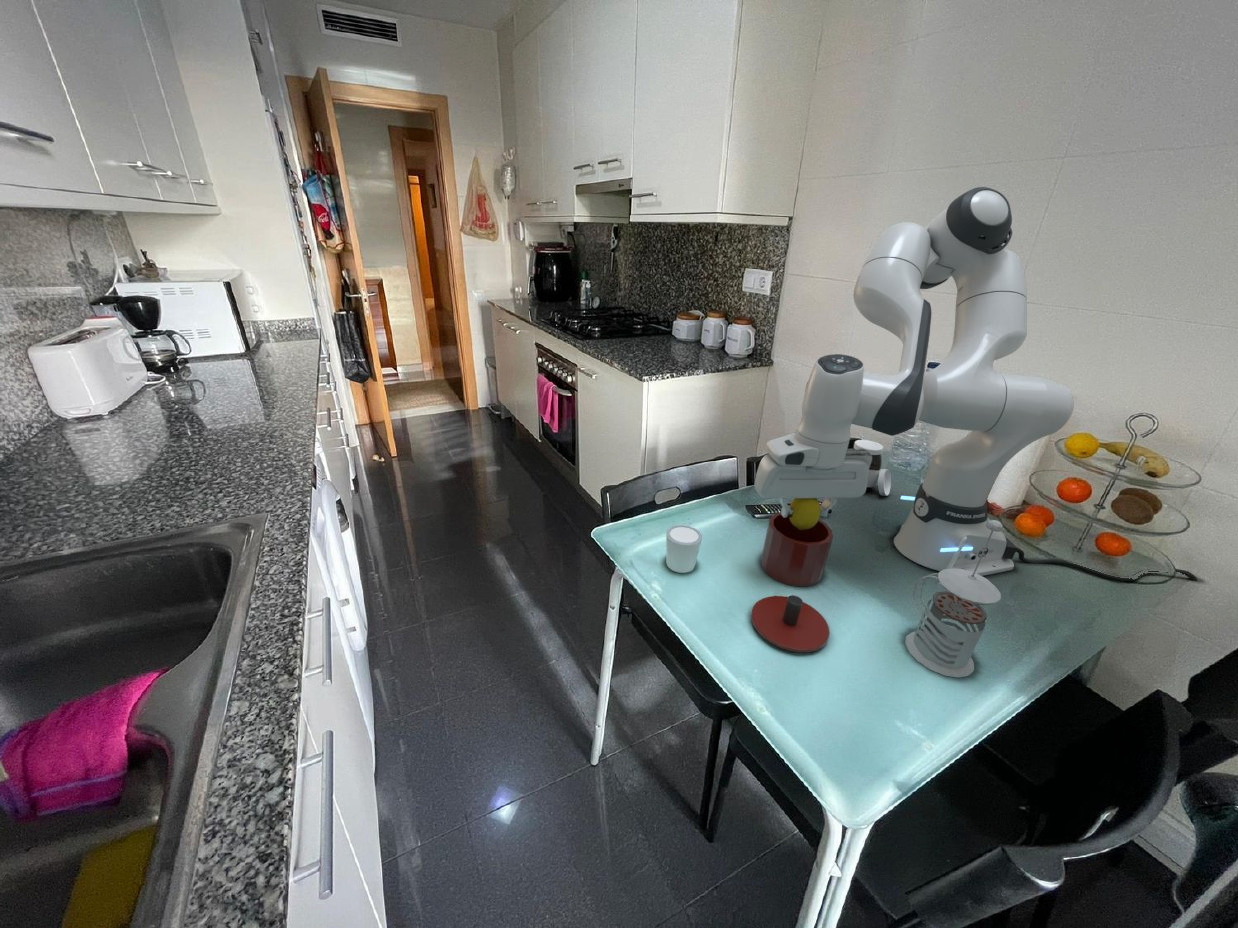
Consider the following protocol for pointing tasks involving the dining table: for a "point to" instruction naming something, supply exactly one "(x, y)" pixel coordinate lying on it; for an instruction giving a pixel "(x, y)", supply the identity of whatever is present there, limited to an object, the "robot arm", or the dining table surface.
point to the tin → (795, 551)
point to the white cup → (682, 548)
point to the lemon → (805, 512)
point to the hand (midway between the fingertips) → (803, 515)
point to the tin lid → (790, 623)
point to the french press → (960, 603)
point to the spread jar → (875, 467)
